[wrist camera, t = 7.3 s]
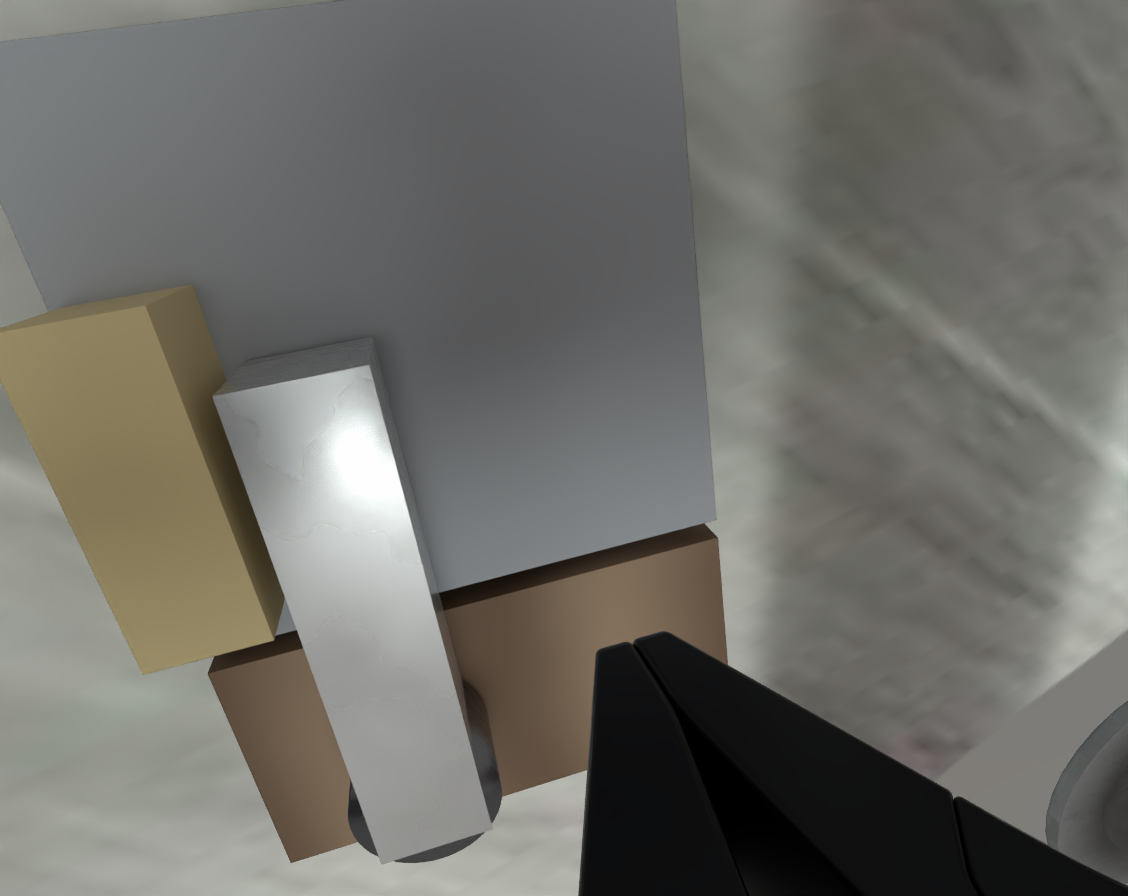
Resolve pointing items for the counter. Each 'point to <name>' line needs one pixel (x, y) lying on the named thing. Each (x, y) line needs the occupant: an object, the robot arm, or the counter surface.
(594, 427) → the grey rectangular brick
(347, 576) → the bar
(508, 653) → the jamb block
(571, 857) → the counter surface
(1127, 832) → the mate gourd
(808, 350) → the counter surface
